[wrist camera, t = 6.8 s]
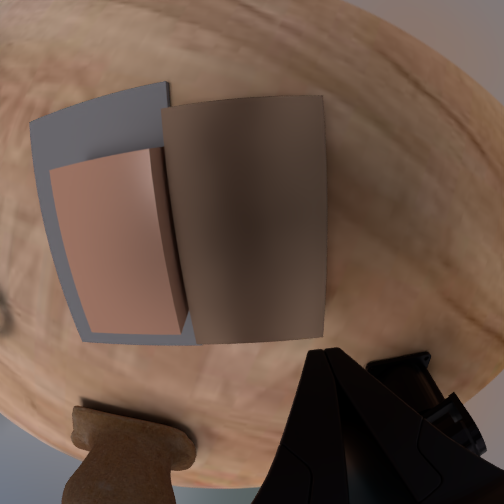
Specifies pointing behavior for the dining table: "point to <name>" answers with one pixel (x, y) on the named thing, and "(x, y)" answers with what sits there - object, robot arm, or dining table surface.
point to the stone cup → (125, 459)
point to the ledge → (250, 215)
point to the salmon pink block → (122, 242)
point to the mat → (88, 148)
